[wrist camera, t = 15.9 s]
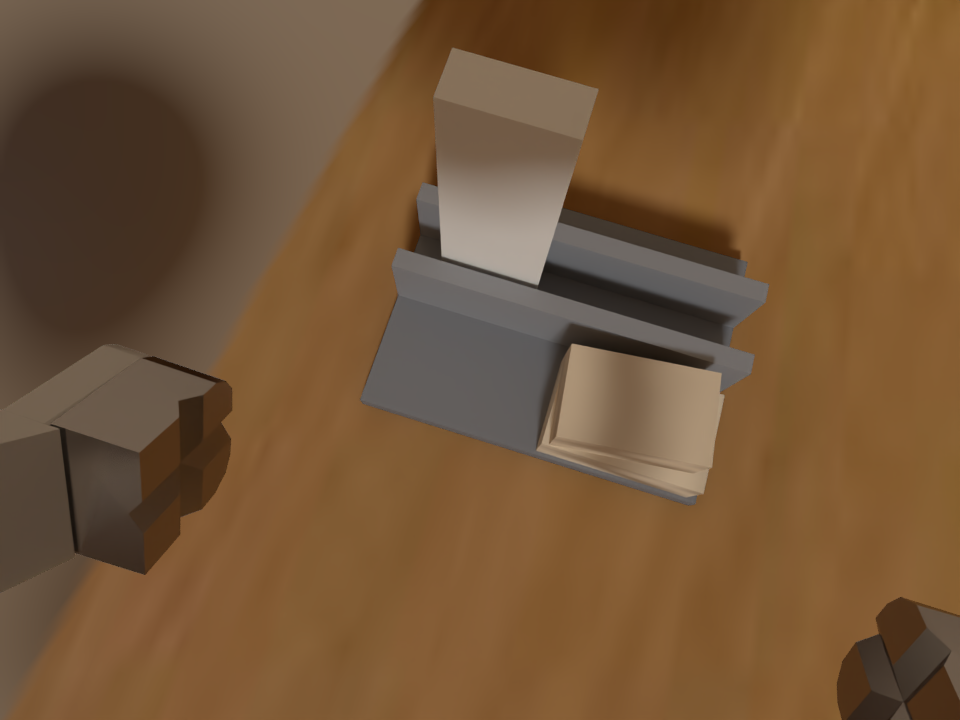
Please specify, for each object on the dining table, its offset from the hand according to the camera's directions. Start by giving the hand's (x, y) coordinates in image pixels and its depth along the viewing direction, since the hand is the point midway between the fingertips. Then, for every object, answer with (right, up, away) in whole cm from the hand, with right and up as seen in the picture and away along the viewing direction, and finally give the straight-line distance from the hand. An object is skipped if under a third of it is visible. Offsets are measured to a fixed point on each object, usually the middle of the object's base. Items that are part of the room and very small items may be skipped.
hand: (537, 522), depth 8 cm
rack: (+4, +3, +29) cm, 30 cm away
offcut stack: (+7, -2, +27) cm, 28 cm away
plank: (0, +6, +29) cm, 30 cm away
